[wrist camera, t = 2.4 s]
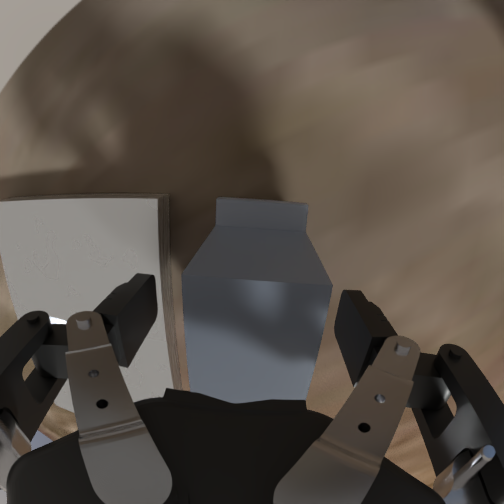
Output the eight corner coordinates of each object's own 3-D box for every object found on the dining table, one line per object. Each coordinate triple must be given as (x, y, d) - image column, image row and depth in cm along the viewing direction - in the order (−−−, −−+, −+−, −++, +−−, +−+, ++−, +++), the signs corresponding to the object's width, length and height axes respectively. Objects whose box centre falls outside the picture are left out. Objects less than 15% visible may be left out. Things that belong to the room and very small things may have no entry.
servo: (301, 197, 14) (340, 241, 7) (284, 333, 17) (293, 439, 10) (224, 191, 15) (180, 230, 7) (220, 329, 17) (195, 432, 10)
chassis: (169, 193, 15) (157, 198, 13) (188, 428, 21) (184, 444, 19) (9, 197, 15) (-7, 202, 13) (63, 393, 21) (55, 404, 20)
